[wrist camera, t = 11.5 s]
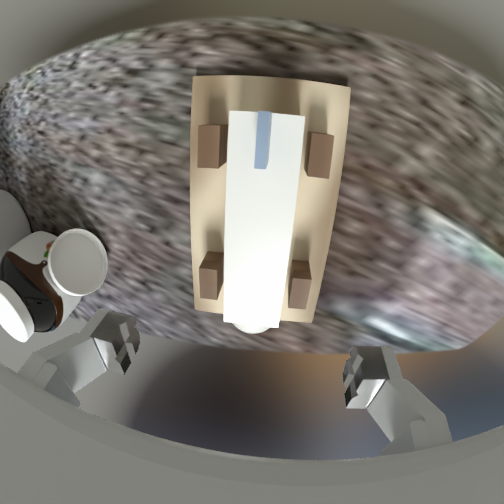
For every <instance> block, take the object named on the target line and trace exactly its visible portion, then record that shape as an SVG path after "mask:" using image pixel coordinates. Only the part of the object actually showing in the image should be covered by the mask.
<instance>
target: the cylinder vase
mask: <svg viewBox="0 0 504 504" xmlns="http://www.w3.org/2000/svg"><path fill="white" fill-rule="evenodd" d="M30 234H32V232H31V229H30V225H29V222H28V220H27V217H26V215H25V213H24V211H23V209H22V207H21V205H20V204H19V202H18V201H17V200H16V199H15V197H14V196H13V195H11V194H10V193H9V192H7V191H5V190H1V189H0V262H1V260H2V257H3V256H4V254H5V253H6V252H7V251H8V250H9V249H10V248H11V247H12V246H13V245H15V244H16V243H18V242H19V241H20V240H22V239H23V238H25V237H26V236H28V235H30Z"/></svg>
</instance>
